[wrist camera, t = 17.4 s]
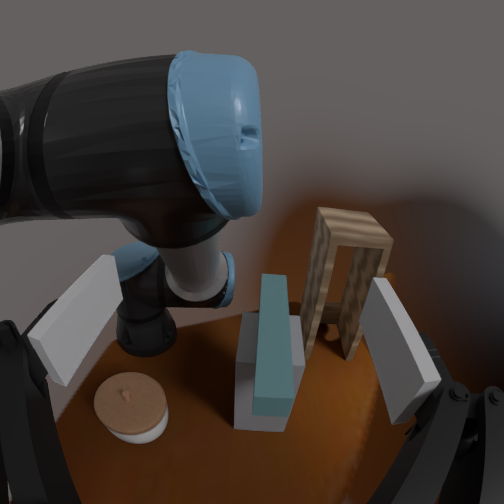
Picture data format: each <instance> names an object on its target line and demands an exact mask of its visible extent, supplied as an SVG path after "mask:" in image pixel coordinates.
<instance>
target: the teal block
mask: <svg viewBox="0 0 504 504" xmlns="http://www.w3.org/2000/svg"><path fill="white" fill-rule="evenodd" d="M293 401H294V384H293V365H292V349H291V333H290V319H289V306H288V293H287V281H286V276H285V275H273V274H262V279H261V290H260V304H259V320H258V334H257V349H256V363H255V377H254V390H253V404H252V415H256V416H273V417H288V416H289V413H290V410H291V407H292V404H293Z"/></svg>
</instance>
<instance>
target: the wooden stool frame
mask: <svg viewBox="0 0 504 504" xmlns="http://www.w3.org/2000/svg"><path fill="white" fill-rule="evenodd" d="M392 244H393V239H392V238H391V237H390V235H389V234H388V233H387V232H386V231H385V230H384V229H383V228H382V227H381V226H380V225H379V224H378V222H376V220H375V219H374V218H373V217H372V216H371V215H370V214H369V213H366V212H358V211H350V210H342V209H333V208H324V207H318V208H317V215H316V222H315V229H314V235H313V241H312V247H311V254H310V260H309V265H308V271H307V276H306V282H305V287H304V293H303V298H302V303H301V308H300V313H299V316H300V321H301V330H302V339H303V348H304V358H305V360H309V358H310V355H311V352H312V348H313V345H314V341H315V338H316V334H317V330H318V327H319V324H337V328H338V332H339V335H340V339H341V343H342V347H343V351H344V355H345V359H346V361H352V359H353V356H354V354H355V352H356V349H357V347H358V344H359V342H360V340H361V337H362V335H363V331H362V328H361V325H360V322H359V319H360V316H361V313H362V310H363V307H364V304H365V301H366V298H367V295H368V292H369V289H370V285H371V282H372V279H373V277H374V278H383V275H384V272H385V268H386V265H387V261H388V258H389V255H390V251H391V247H392ZM338 245H346V246H355V249H354V254H353V258H352V262H351V266H350V270H349V274H348V278H347V282H346V286H345V289H344V293H343V297H342V300H341V303H325V299H326V295H327V291H328V287H329V283H330V278H331V274H332V269H333V265H334V260H335V255H336V251H337V246H338Z"/></svg>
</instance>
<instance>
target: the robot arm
mask: <svg viewBox="0 0 504 504" xmlns="http://www.w3.org/2000/svg"><path fill="white" fill-rule="evenodd" d="M262 169H263V165H262V128H261V108H260V96H259V85H258V78H257V74H256V71H255V69H254V68H253V66H252V65H251V64H250V63H249V62H248V61H246V60H245V59H243V58H241V57H238V56H234V55H222V54H200V53H198V52H195V51H182V52H179V53H178V54H175V55H160V56H149V57H140V58H132V59H125V60H119V61H113V62H108V63H102V64H97V65H92V66H88V67H83V68H79V69H76V70H72V71H69V72H63V73H60V74H56V75H53V76H50V77H46V78H43V79H40V80H37V81H34V82H31V83H28V84H24V85H21V86H18V87H15V88H11V89H7V90H2V91H0V225H4V224H8V223H15V222H24V221H32V220H53V219H54V220H56V219H88V218H119V219H120V221H121V222H122V223H123V225H124V226H125V228H126V229H127V230H128V231H129V232H130V233H131V234H132V235H133V236H134V237H135V238H136V239H138V240H139V242H133V243H130V244H127V245H125V246H122V247H120V248H119V249H117V250H116V251H114V252H113V253H112V254H111V255H102V256H101V257H100V258H99V259H98V260H96V261H95V262H94V263H93V264H92V265H91V266H90V267H89V268H88V269H87V270H86V271H85V272H84V273H83V274H82V275H81V276H80V277H79V278H78V279H77V280H76V281H75V282H74V284H72V285H71V287H70V288H69V289H68V290H67V291H66V292H65V293H64V294H63V295H62V296H61V297H60V298H59V299H56V300H54V301H53V302H51V303H50V304H48V305H47V307H46V308H45V309H44V310H43V311H42V313H40V314H39V315H38V317H37V318H36V319H35V320H34V321H33V322H32V323H31V324H30V325H29V327H28V328H27V329H26V330H25V332H24V333H23V334H22V335H20V334H19V332H18V330H17V327H16V325H15V324H14V322H13V321H11V320H4V321H2V322H0V504H9V497H8V483H9V487H10V491H11V495H12V499H13V503H14V504H81V501H80V499H79V497H78V494H77V492H76V489H75V487H74V484H73V481H72V479H71V476H70V473H69V470H68V467H67V464H66V461H65V458H64V455H63V451H62V448H61V444H60V441H59V437H58V433H57V429H56V425H55V421H54V416H53V411H52V406H51V401H50V395H49V389H48V383H47V380H46V379H45V377H46V375H47V374H49V375H50V377H51V379H52V380H53V381H54V382H55V383H58V384H60V385H62V386H65V387H67V385H68V383H69V381H70V380H71V378H72V376H73V375H74V373H75V371H76V370H77V368H78V366H79V365H80V363H81V362H82V360H83V358H84V357H85V355H86V354H87V352H88V350H89V349H90V347H91V346H92V344H93V342H94V341H95V340H96V338H97V337H98V335H99V333H100V332H101V330H102V329H103V327H104V326H105V325H106V323H107V321H108V320H109V319H110V317H111V316H112V314H113V313H114V311H115V310H117V313H118V318H117V330H116V333H117V338H118V341H119V344H120V346H121V347H122V349H123V350H124V351H126V352H127V353H129V354H131V355H134V356H139V357H150V356H155V355H158V354H161V353H163V352H165V351H166V350H168V349H169V348H170V347H171V346H172V345H173V344H174V342H175V340H176V337H177V330H176V325H175V322H174V320H173V318H172V316H171V315H170V313H169V311H168V310H167V308H166V307H185V308H214V309H217V308H219V307H227V306H228V305H229V304H230V303H231V301H232V298H233V292H234V285H235V268H234V261H233V258H232V255H231V254H230V253H228V252H224V251H220V241H221V230H222V229H223V228H224V227H225V226H226V225H227V223H228V222H229V221H230V220H237V219H239V218H240V217H249V216H253V215H255V214H256V213H258V212H259V210H260V208H261V205H262V191H263V190H262V189H263V170H262ZM359 322H360V325H361V328H362V331H363V333H364V336H365V339H366V342H367V345H368V348H369V351H370V354H371V357H372V360H373V363H374V366H375V369H376V372H377V375H378V379H379V382H380V385H381V388H382V392H383V395H384V399H385V402H386V405H387V409H388V413H389V416H390V420H391V424H392V425H393V424H399V423H404V422H408V421H409V420H410V419H411V417H412V416H413V415H414V414H415V416H416V419H417V421H416V422H415V423H414V424H413V426H411V427H410V429H408V431H407V432H406V433H405V435H407V434H408V433H409V432H410V433H409V435H408V437H407V439H406V441H405V442H404V445H403V446H402V448H401V450H400V452H399V454H398V455H397V457H396V459H395V461H394V462H393V464H392V466H391V468H390V469H389V471H388V473H387V474H386V476H385V477H384V479H383V481H382V482H381V484H380V485H379V487H378V488H377V490H376V491H375V493H374V494H373V496H372V497H371V498H370V500H369V501H368V502H367V504H434V503H435V501H436V499H437V497H438V495H439V492H440V490H441V488H442V490H441V494H440V498H439V502H438V504H504V394H503V392H502V391H501V390H500V389H499V388H497V387H495V386H490V387H488V388H486V390H485V391H484V392H483V393H482V394H474V393H469V391H468V389H467V388H466V387H465V386H464V385H463V384H461V383H459V382H453V380H452V378H451V376H450V374H449V372H448V370H447V368H446V366H445V364H444V362H443V360H442V358H441V357H440V354H439V352H438V351H437V350H436V347H435V345H434V343H433V341H432V340H431V339H430V338H429V337H428V336H427V335H426V334H425V333H418V332H417V330H416V328H415V327H414V325H413V323H412V321H411V319H410V317H409V316H408V314H407V312H406V311H405V309H404V307H403V305H402V304H401V302H400V300H399V299H398V297H397V295H396V293H395V292H394V290H393V289H392V287H391V285H390V284H389V282H388V280H387V279H386V278H374V277H373V279H372V282H371V285H370V289H369V292H368V295H367V298H366V301H365V304H364V307H363V310H362V313H361V316H360V319H359ZM477 434H478V440H477ZM7 479H8V480H7Z"/></svg>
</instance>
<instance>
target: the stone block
mask: <svg viewBox="0 0 504 504" xmlns="http://www.w3.org/2000/svg"><path fill="white" fill-rule="evenodd" d="M289 319H290V333H291V349H292V365H293V384H294V400H295V397H296V394H297V391H298V388H299V385H300V382H301V378H302V375H303V372H304V369H305V358H304V348H303V339H302V330H301V321H300V316H293V315H289ZM258 320H259V313H251V312H243V315H242V322H241V329H240V336H239V343H238V350H237V357H236V371H235V406H234V429H242V430H254V431H273V432H284V429H285V426H286V424H287V421H288V418H289V416H288V417H273V416H256V415H252V404H253V390H254V377H255V363H256V349H257V334H258ZM293 403H294V401H293ZM292 406H293V404H292ZM291 409H292V407H291ZM290 412H291V410H290ZM289 415H290V413H289Z"/></svg>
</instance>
